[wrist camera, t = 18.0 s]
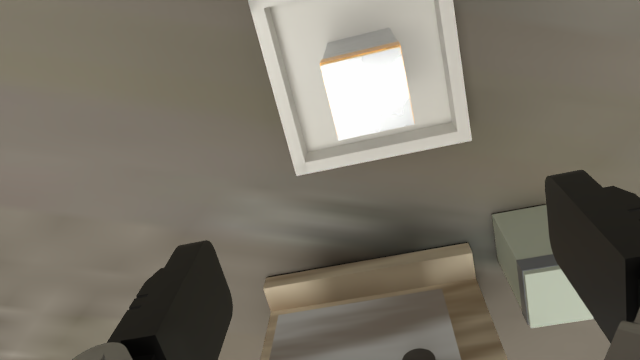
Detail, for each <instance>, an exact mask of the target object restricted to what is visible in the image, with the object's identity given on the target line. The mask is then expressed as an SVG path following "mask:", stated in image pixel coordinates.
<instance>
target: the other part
mask: <svg viewBox="0 0 640 360" xmlns="http://www.w3.org/2000/svg"><path fill="white" fill-rule="evenodd" d="M492 220H493V228H494V236H495V243H496V251H497V259H498V262H499V264H500V266H501V268H502V270H503V272H504V274H505V276H506V279H507V281H508V283H509V285H510V287H511V289H512V291H513V293H514V295H515V297H516V299H517V301H518V303H519V305H520V307H521V309H522V314H523V316H524V318H525V320H526V322H527V324H528V325H529V326H530V328H536V327H542V326H549V325H556V324H563V323H569V322H576V321H583V320H590V319H594V318H593V316H592V315H591V313H590V312H589V310H588V309H587V307H586V306H585V304H584V303H583V301H582V300H581V298H580V297H579V295H578V294H577V292H576V291H575V289H574V288H573V286H572V285H571V283H570V282H569V280H568V279H567V277H566V276H565V274H564V273H563V271H562V270H561V268H560V267H559V265H558V264H557V262H556V260H555V258H554V255H553V252H552V249H551V245H550V239H549V229H548V217H547V205H542V206H536V207H531V208H525V209H520V210H514V211H509V212H503V213H498V214H492Z"/></svg>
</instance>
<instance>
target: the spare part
mask: <svg viewBox="0 0 640 360" xmlns="http://www.w3.org/2000/svg"><path fill="white" fill-rule="evenodd" d="M320 67H321V71H322V75H323V79H324V84H325V88H326V92H327V96H328V100H329V104H330V108H331V112H332V116H333V120H334V125H335V129H336V133H337V137H338V140H344V139H349V138H353V137H358V136H363V135H367V134H372V133H377V132H381V131H386V130H391V129H395V128H400V127H405V126H409V125H414V123H415V122H414V116H413V111H412V105H411V100H410V94H409V89H408V84H407V78H406V73H405V67H404V62H403V56H402V51H401V45H400V43H399V41H397V40H396V39H395V37H394V35H393V33H392V31H391V29H390V28H385V29H381V30H377V31H373V32H369V33H365V34H361V35H357V36H352V37H348V38H344V39H340V40H336V41H332V42H328V43H327V46H326V49H325V53H324V56H323V59H322V60H321V61H320Z"/></svg>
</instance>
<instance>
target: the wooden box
mask: <svg viewBox="0 0 640 360" xmlns="http://www.w3.org/2000/svg"><path fill="white" fill-rule="evenodd" d="M263 289H264V292H265V295H266V298H267V301H268V304H269V307H270V310H271V315H270V319H269V323H268V328H267V332H266V337H265V341H264V345H263V350H262V354H261V358H260V360H507V357H506V354H505V352H504V349H503V347H502V344H501V342H500V339H499V336H498V334H497V331H496V329H495V326H494V324H493V321H492V318H491V316H490V313H489V311H488V308H487V306H486V303H485V300H484V298H483V295H482V293H481V290H480V288H479V285H478V282H477V280H476V275H475V268H474V262H473V255H472V251H471V249H470V246H469V244H468V243H464V244H458V245H452V246H446V247H441V248H435V249H429V250H423V251H418V252H412V253H406V254H400V255H395V256H389V257H383V258H377V259H372V260H366V261H360V262H354V263H349V264H343V265H337V266H331V267H326V268H320V269H314V270H308V271H303V272H297V273H291V274H286V275H280V276H274V277H268V278H266V281H265V284H264V288H263Z"/></svg>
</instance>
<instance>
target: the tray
mask: <svg viewBox="0 0 640 360" xmlns="http://www.w3.org/2000/svg"><path fill="white" fill-rule="evenodd" d="M248 3H249V6H250V10H251V14H252V17H253V21H254V24H255V28H256V32H257V35H258V39H259V42H260V46H261V50H262V53H263V57H264V61H265V64H266V68H267V71H268V75H269V79H270V82H271V86H272V89H273V93H274V97H275V100H276V104H277V108H278V111H279V115H280V118H281V122H282V126H283V129H284V133H285V136H286V140H287V144H288V147H289V151H290V155H291V158H292V162H293V165H294V169H295V173H296V176H299V175H304V174H309V173H314V172H319V171H324V170H329V169H334V168H339V167H344V166H348V165H353V164H358V163H363V162H368V161H373V160H378V159H383V158H388V157H393V156H398V155H403V154H408V153H413V152H418V151H423V150H428V149H433V148H438V147H443V146H448V145H453V144H458V143H463V142H468V141H472V138H471V130H470V123H469V115H468V108H467V100H466V93H465V86H464V78H463V71H462V63H461V56H460V49H459V41H458V34H457V26H456V19H455V12H454V4H453V0H248ZM385 28H390V29H391V31H392V33H393V35H394V37H395V39H396V40H397V41H399V43H400V45H401V51H402V56H403V62H404V67H405V73H406V78H407V84H408V89H409V94H410V100H411V105H412V111H413V116H414V122H415V123H414V125H409V126H405V127H400V128H395V129H391V130H386V131H381V132H377V133H372V134H367V135H363V136H358V137H353V138H349V139H344V140H338V137H337V133H336V129H335V125H334V120H333V116H332V112H331V108H330V104H329V100H328V96H327V92H326V88H325V84H324V79H323V75H322V71H321V67H320V61H321V60H322V59H323V56H324V53H325V49H326V46H327V43H328V42H332V41H336V40H340V39H344V38H348V37H352V36H357V35H361V34H365V33H369V32H373V31H377V30H381V29H385Z"/></svg>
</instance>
